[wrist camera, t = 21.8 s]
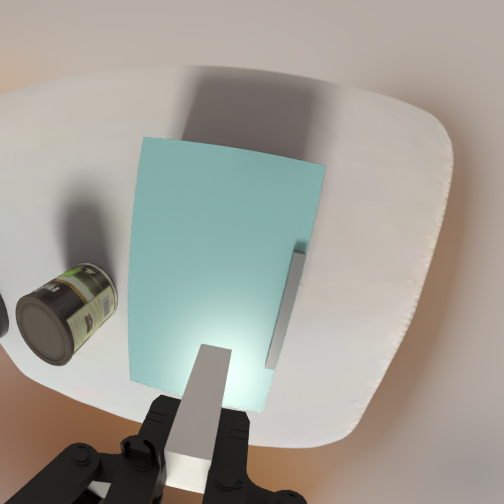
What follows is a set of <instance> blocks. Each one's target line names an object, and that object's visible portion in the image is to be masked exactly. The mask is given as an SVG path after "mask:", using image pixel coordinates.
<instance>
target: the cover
mask: <svg viewBox="0 0 504 504" xmlns="http://www.w3.org/2000/svg"><path fill="white" fill-rule="evenodd" d="M325 168H326V166H323V165H319V164H315V163H311V162H306V161H302V160H297V159H292V158H287V157H283V156H278V155H272V154H267V153H262V152H256V151H251V150H245V149H239V148H233V147H226V146H220V145H213V144H205V143H198V142H190V141H181V140H172V139H162V138H151V137H144V138H143V144H142V149H141V155H140V162H139V168H138V175H137V183H136V191H135V199H134V208H133V218H132V229H131V242H130V258H129V281H128V343H129V365H130V380H132V381H135V382H138V383H141V384H144V385H147V386H150V387H153V388H157V389H160V390H163V391H167V392H170V393H174V394H177V395H181V396H183V394H184V391H185V388H186V385H187V382H188V380H189V377H190V374H191V371H192V368H193V365H194V363H195V360H196V357H197V354H198V351H199V349H200V346H201V343H202V344H206V345H211V346H216V347H221V348H226V349H231V350H232V353H231V358H230V364H229V369H228V374H227V380H226V385H225V391H224V396H223V402H222V405H223V406H228V407H233V408H238V409H243V410H249V411H255V412H261V413H262V411H263V408H264V404H265V401H266V398H267V395H268V392H269V389H270V385H271V382H272V379H273V376H274V372H275V369H276V366H277V362H278V359H279V356H280V352H281V349H282V345H283V342H284V338H285V335H286V331H287V328H288V324H289V320H290V317H291V313H292V309H293V305H294V302H295V298H296V294H297V290H298V286H299V282H300V279H301V275H302V271H303V267H304V263H305V258H306V254H307V250H308V246H309V242H310V237H311V233H312V229H313V224H314V220H315V215H316V211H317V206H318V202H319V197H320V192H321V188H322V183H323V178H324V173H325Z"/></svg>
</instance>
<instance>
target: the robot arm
mask: <svg viewBox="0 0 504 504" xmlns="http://www.w3.org/2000/svg"><path fill="white" fill-rule="evenodd" d="M8 326H9V323H8V316H7V312H6V309H5V306H4V303H3V301H2V299H1V297H0V338H1V337H3V336H4V335H5V334H6V333H7V331H8ZM231 353H232V350H231V349H226V348H221V347H216V346H211V345H206V344H202V343H201V346H200V349H199V351H198V354H197V357H196V360H195V363H194V365H193V368H192V371H191V374H190V377H189V380H188V382H187V385H186V388H185V391H184V394H183V397H182V399H181V400H180V399H176V398H172V397H168V396H165V395H160V396H159V397H158V398H156V399H155V400H154V401H153V402H152V404H151V406H150V409H149V412H148V413H147V415H146V418H145V420H144V422H143V424H142V427H141V429H140V431H139V433H138V435H134V436H129V437H127V438H125V439H124V440H123V441H122V442H121V443H120V446H121V451H122V453H120V454H106V453H97V451H96V450H95V449H94V448H93V447H92V446H90V445H87V444H85V443H75V444H71V445H70V446H68V447H67V448H65V449H64V450H63V451H62V452H61V453H60V454H59V455H58V456H57V457H56V458H55V459H53V460H52V461H51V462H50V463H49V464H48V465H47V466H46V467H45V468H43V469H42V470H41V471H40V472H39V473H38V474H37V475H36V476H35V477H34V478H32V479H31V480H30V481H29V482H28V483H27V484H26V485H25V486H24V487H22V488H21V489H20V490H19V491H18V492H17V493H16V494H15V495H13V496H12V497H11V498H10V499H9V500H8V501H7V502H6V503H4V504H161V503H162V499H163V489H164V486H165V482H166V485H168V486H172V487H176V488H180V489H184V490H189V491H194V492H199V493H203V494H204V496H203V502H202V504H307V502H306V500H305V499H304V497H303V496H302V495H300V494H299V493H297V492H294V491H291V490H281V491H277V492H272V491H269V490H266V489H263V488H261V487H259V486H257V485H255V484H254V483H253V482H252V481H251V480H250V479H249V477H248V475H247V471H246V466H247V453H248V439H249V426H250V421H249V419H248V417H247V414H246V412H243V411H237V410H231V409H225V408H221V407H222V402H223V396H224V391H225V385H226V380H227V374H228V369H229V364H230V358H231Z"/></svg>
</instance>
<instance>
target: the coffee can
mask: <svg viewBox="0 0 504 504" xmlns="http://www.w3.org/2000/svg"><path fill="white" fill-rule="evenodd" d="M116 308H117V292H116V289H115V286H114V284H113V282H112V281H111V279H110V277H109V276H108V275H107V274H106V272H104V271H103V270H102V269H101V268H100V267H98V266H96V265H94V264H91V263H80V264H78V265H76V266H75V267H74V268H72V269H70V270H68V271H67V272H65V273H63V274H62V275H60V276H58V277H57V278H55V279H53V280H51V281H50V282H48V283H46V284H45V285H43V286H41V287H40V288H38V289H36V290H35V291H33V292H32V293H30V294H28V295H25V296H23V297H22V298H21V299H19V301H18V303H17V305H16V321H17V325H18V328H19V331H20V333H21V335H22V337H23V339H24V341H25V342H26V344H27V345H28V346H29V348H30V349H31V350H32V351H33V352H34V353H35V354H36V355H37V356H38V357H39V358H40V359H42V360H43V361H45V362H46V363H48V364H51V365H54V366H63V365H65V364H67V363H68V362H69V361H70V359H71V358H72V356H73V355H74V354H75V353H76V352H77V351H78V349H79V348H80V347H81V346H82V345H83V344H84V343H85V342H86V341H87V340H88V339H89V338H90V337H91V336H92V335H93V334H94V333H95V332H96V331H97V330H98V329H99V328H100V327H101V326H102V325H103V324H104V323H105V322H106V321H107V320H108V319H109V318H110V317H111V316H112V315H113V314H114V313H115V311H116Z"/></svg>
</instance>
